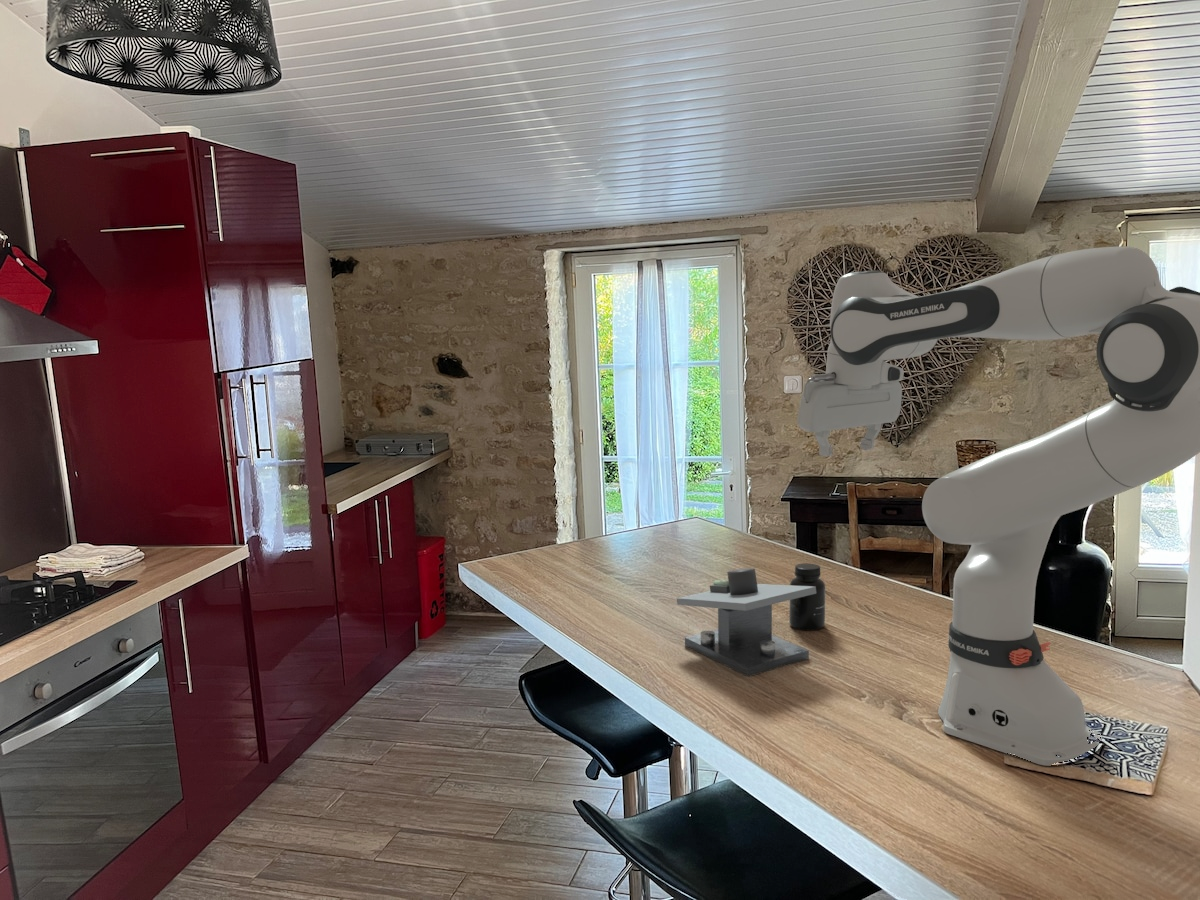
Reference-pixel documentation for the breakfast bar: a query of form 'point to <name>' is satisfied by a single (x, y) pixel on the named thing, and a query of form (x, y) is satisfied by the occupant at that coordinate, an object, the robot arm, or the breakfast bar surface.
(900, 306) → the robot arm
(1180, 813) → the breakfast bar surface
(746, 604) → the plate
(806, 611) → the supplement bottle
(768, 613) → the stand
